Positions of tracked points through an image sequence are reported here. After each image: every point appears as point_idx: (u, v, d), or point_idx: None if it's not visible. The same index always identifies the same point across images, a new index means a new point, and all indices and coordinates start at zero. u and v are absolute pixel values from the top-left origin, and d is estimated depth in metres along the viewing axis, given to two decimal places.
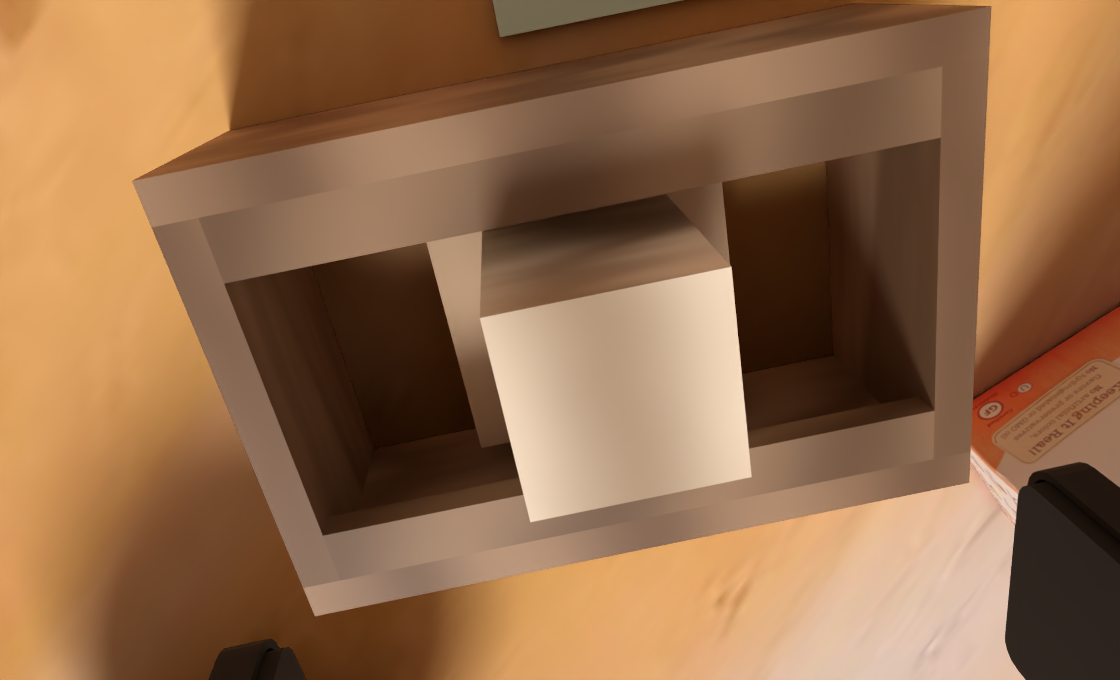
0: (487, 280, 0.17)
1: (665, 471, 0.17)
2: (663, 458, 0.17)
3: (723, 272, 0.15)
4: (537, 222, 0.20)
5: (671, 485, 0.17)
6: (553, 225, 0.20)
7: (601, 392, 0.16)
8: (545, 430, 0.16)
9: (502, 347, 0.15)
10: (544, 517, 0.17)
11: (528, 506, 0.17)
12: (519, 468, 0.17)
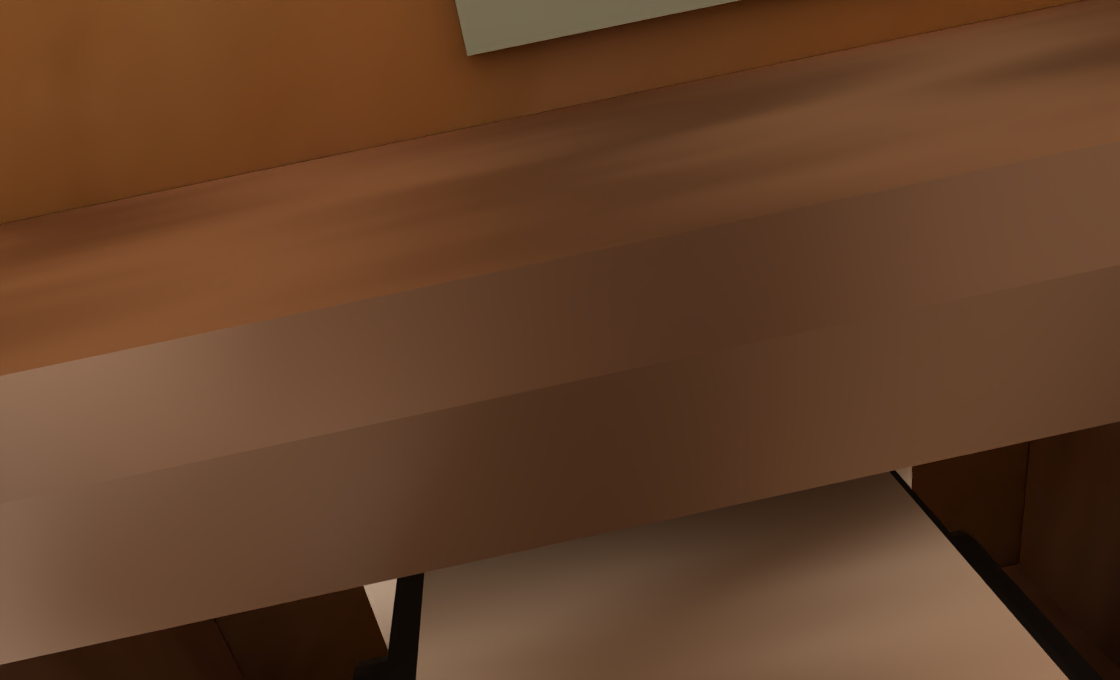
0: None
1: None
2: None
3: None
4: None
5: None
6: None
7: None
8: None
9: None
10: None
11: None
12: None
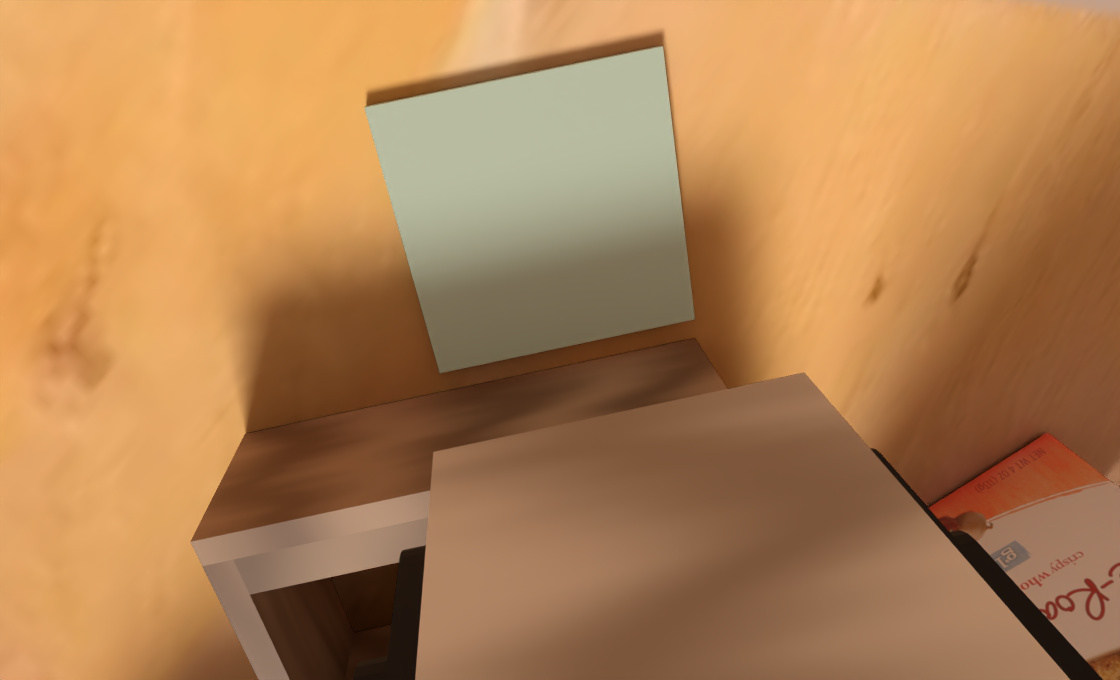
0: None
1: None
2: None
3: None
4: (545, 433, 0.10)
5: None
6: (580, 451, 0.10)
7: None
8: None
9: None
10: None
11: None
12: None
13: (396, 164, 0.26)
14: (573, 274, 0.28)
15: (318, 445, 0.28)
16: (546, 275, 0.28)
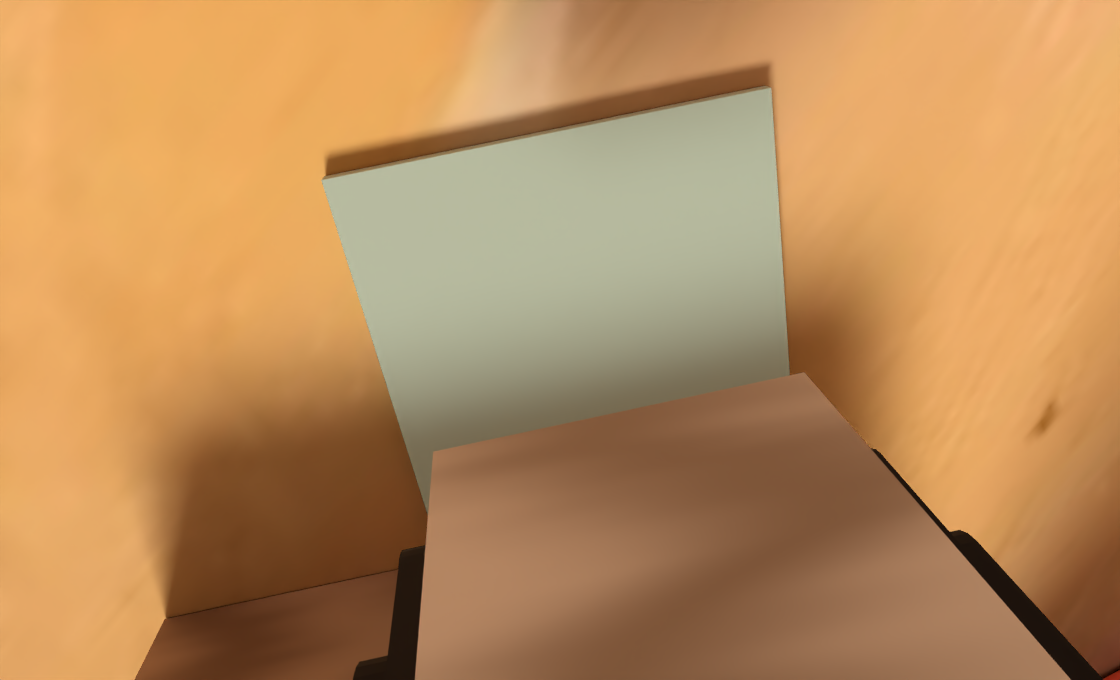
0: None
1: None
2: None
3: None
4: (545, 433, 0.10)
5: None
6: (580, 451, 0.09)
7: None
8: None
9: None
10: None
11: None
12: None
13: (370, 261, 0.18)
14: (627, 408, 0.20)
15: (261, 653, 0.20)
16: (589, 410, 0.20)
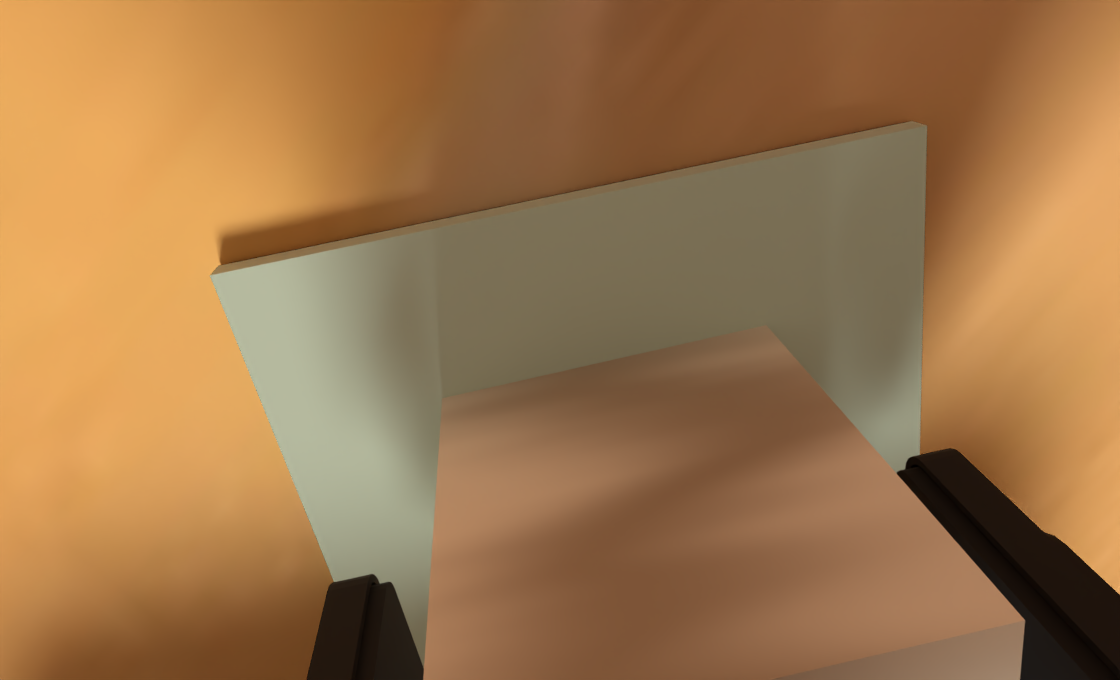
0: (444, 576, 0.08)
1: None
2: None
3: (1002, 630, 0.06)
4: (539, 380, 0.11)
5: None
6: (569, 393, 0.11)
7: None
8: None
9: None
10: None
11: None
12: None
13: (295, 394, 0.11)
14: None
15: None
16: None
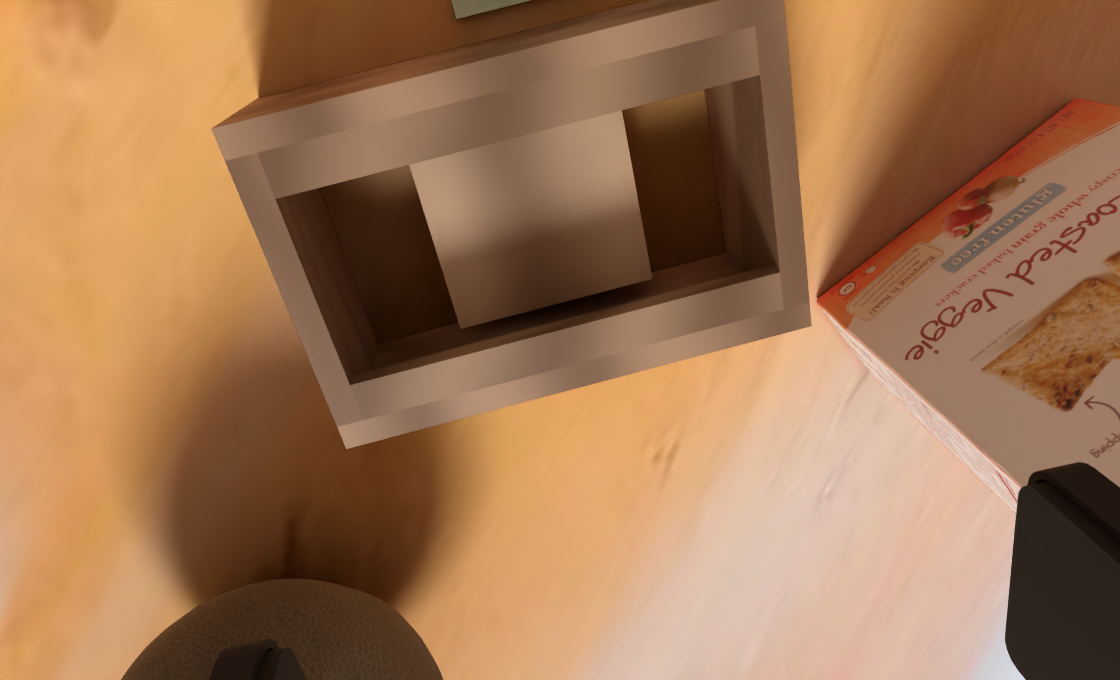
0: None
1: None
2: None
3: None
4: None
5: None
6: None
7: None
8: None
9: None
10: None
11: None
12: None
13: None
14: None
15: (335, 83, 0.27)
16: None
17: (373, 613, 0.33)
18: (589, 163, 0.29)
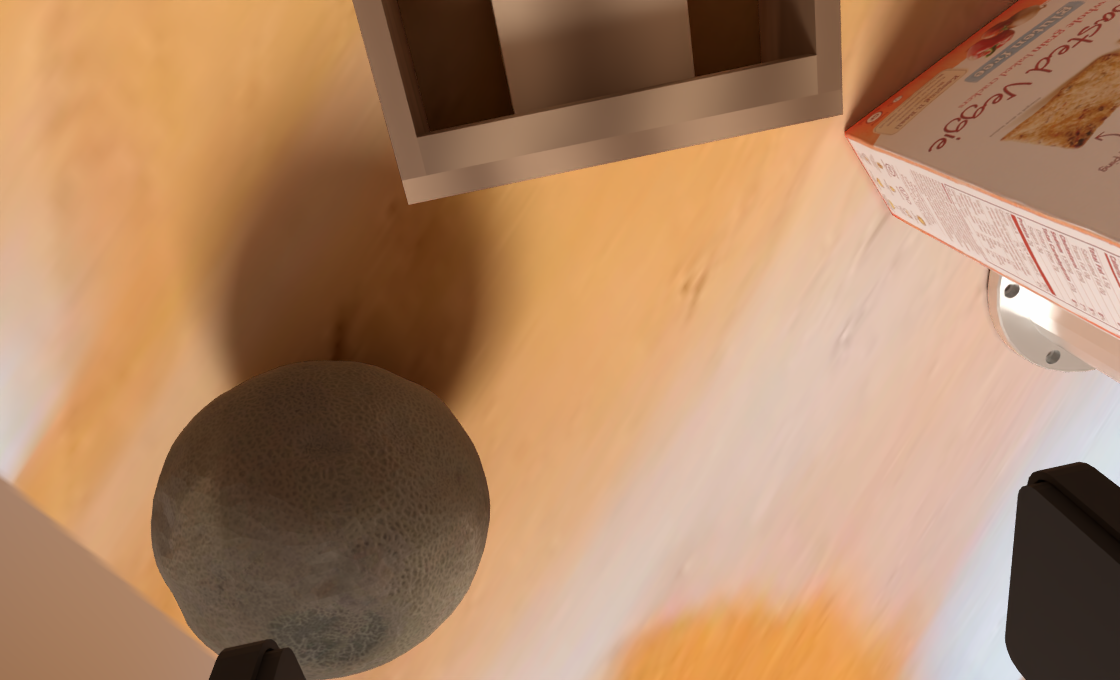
0: None
1: None
2: None
3: None
4: None
5: None
6: None
7: None
8: None
9: None
10: None
11: None
12: None
13: None
14: None
15: None
16: None
17: (419, 387, 0.35)
18: None
